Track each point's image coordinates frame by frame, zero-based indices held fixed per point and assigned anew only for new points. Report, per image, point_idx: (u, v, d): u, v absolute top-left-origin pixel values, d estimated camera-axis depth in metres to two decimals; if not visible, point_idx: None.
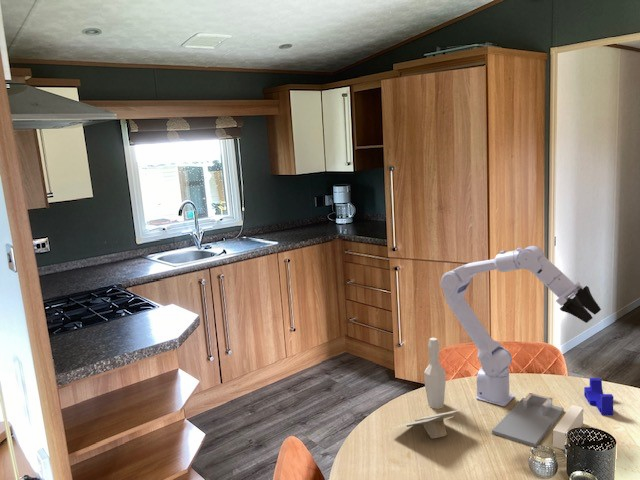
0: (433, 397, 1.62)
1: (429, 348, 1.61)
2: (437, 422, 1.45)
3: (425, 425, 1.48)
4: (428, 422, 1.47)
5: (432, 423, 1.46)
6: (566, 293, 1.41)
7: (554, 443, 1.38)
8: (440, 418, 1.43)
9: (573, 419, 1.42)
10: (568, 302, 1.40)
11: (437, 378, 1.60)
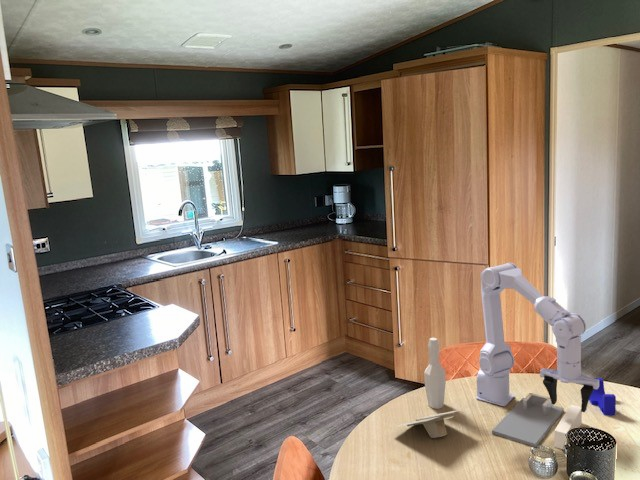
0: (433, 397, 1.62)
1: (429, 348, 1.61)
2: (437, 422, 1.45)
3: (425, 425, 1.48)
4: (428, 422, 1.47)
5: (432, 423, 1.46)
6: (548, 374, 1.43)
7: (555, 444, 1.38)
8: (440, 418, 1.43)
9: (573, 419, 1.42)
10: None
11: (437, 378, 1.60)
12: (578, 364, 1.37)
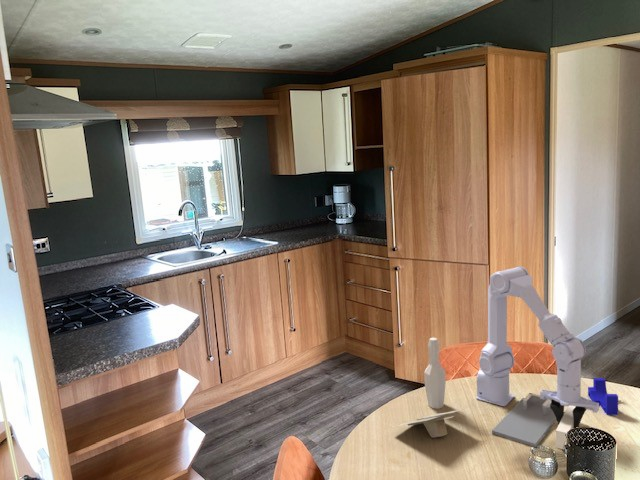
0: (433, 397, 1.62)
1: (429, 348, 1.61)
2: (438, 421, 1.46)
3: (426, 424, 1.48)
4: (429, 421, 1.47)
5: (433, 422, 1.46)
6: (548, 396, 1.44)
7: (557, 443, 1.38)
8: (440, 417, 1.43)
9: (573, 418, 1.42)
10: None
11: (437, 378, 1.60)
12: (578, 387, 1.39)
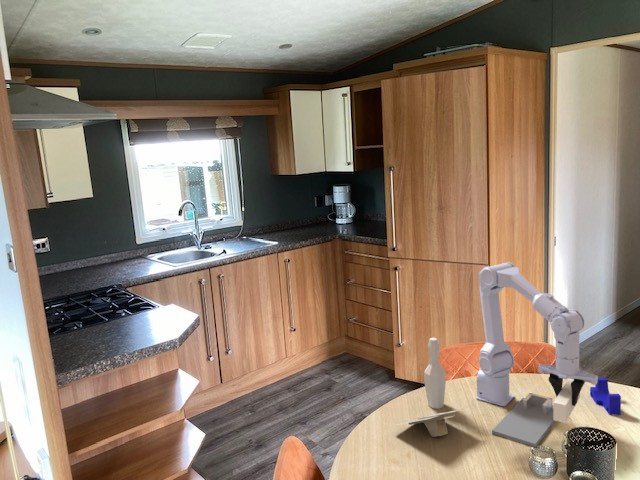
0: (433, 397, 1.62)
1: (429, 348, 1.61)
2: (438, 421, 1.46)
3: (426, 423, 1.49)
4: (429, 420, 1.47)
5: (433, 422, 1.46)
6: (547, 370, 1.43)
7: (554, 416, 1.37)
8: (441, 417, 1.44)
9: None
10: None
11: (437, 378, 1.60)
12: (576, 360, 1.38)
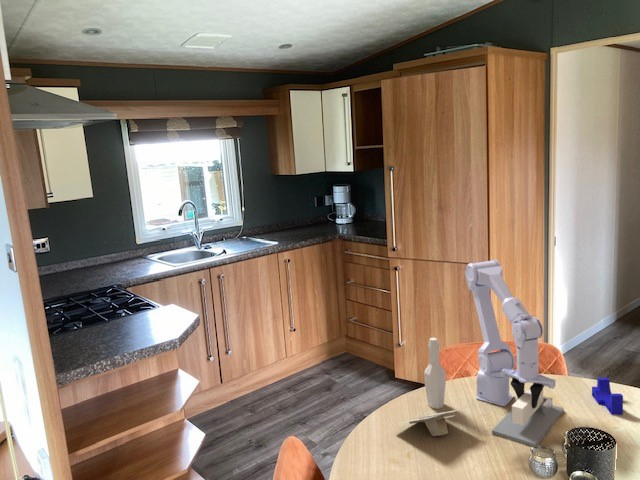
0: (433, 397, 1.62)
1: (429, 348, 1.61)
2: (438, 420, 1.46)
3: (427, 423, 1.49)
4: (430, 420, 1.48)
5: (433, 421, 1.47)
6: (509, 374, 1.50)
7: (513, 418, 1.45)
8: (441, 416, 1.44)
9: None
10: None
11: (437, 378, 1.60)
12: (535, 365, 1.45)
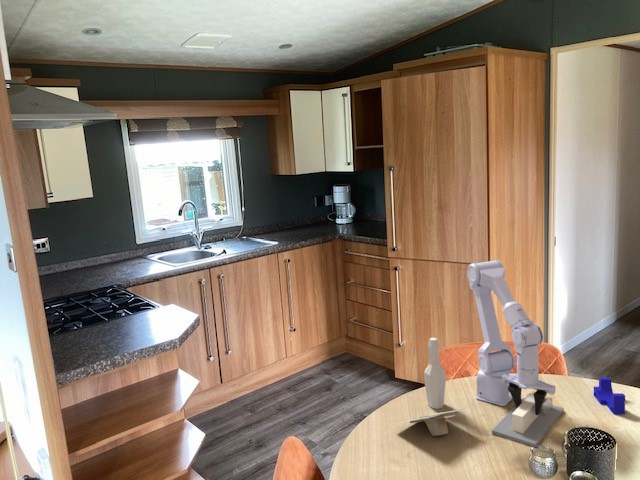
0: (433, 397, 1.62)
1: (429, 348, 1.61)
2: (439, 420, 1.46)
3: (427, 422, 1.49)
4: (430, 419, 1.48)
5: (434, 421, 1.47)
6: (509, 380, 1.51)
7: (513, 426, 1.46)
8: (441, 416, 1.44)
9: (532, 404, 1.49)
10: None
11: (437, 378, 1.60)
12: (536, 371, 1.46)
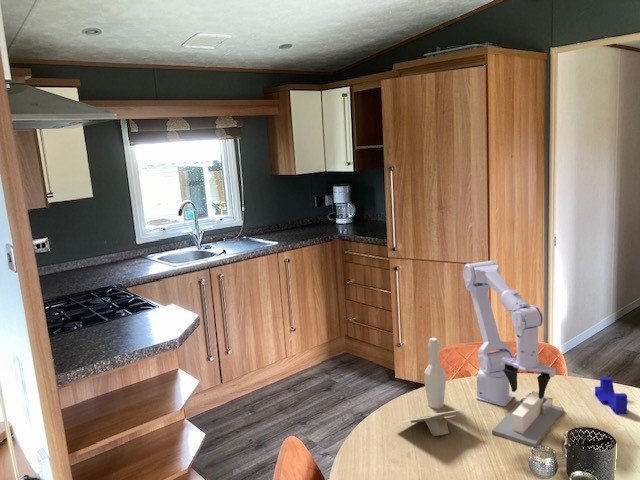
0: (433, 397, 1.62)
1: (429, 348, 1.61)
2: (439, 420, 1.46)
3: (428, 422, 1.49)
4: (430, 419, 1.48)
5: (434, 421, 1.47)
6: (509, 363, 1.50)
7: (513, 426, 1.46)
8: (441, 416, 1.44)
9: (532, 404, 1.49)
10: None
11: (437, 378, 1.60)
12: (535, 353, 1.45)
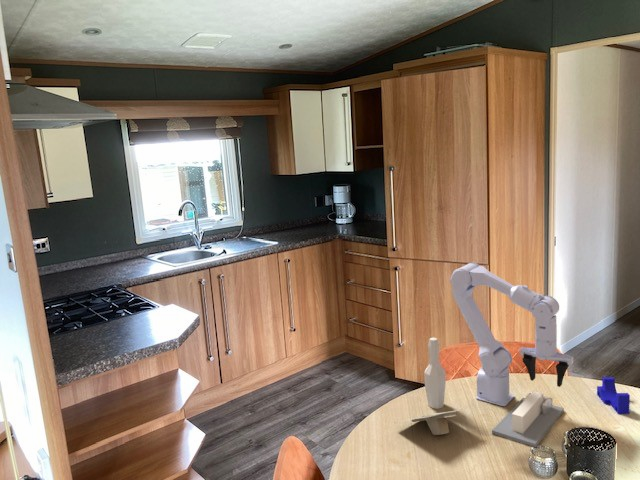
0: (433, 397, 1.62)
1: (429, 348, 1.61)
2: (439, 419, 1.47)
3: (428, 421, 1.49)
4: (431, 419, 1.48)
5: (434, 420, 1.47)
6: (527, 352, 1.55)
7: (513, 426, 1.46)
8: (441, 415, 1.44)
9: (532, 404, 1.49)
10: None
11: (437, 378, 1.60)
12: (554, 342, 1.50)
